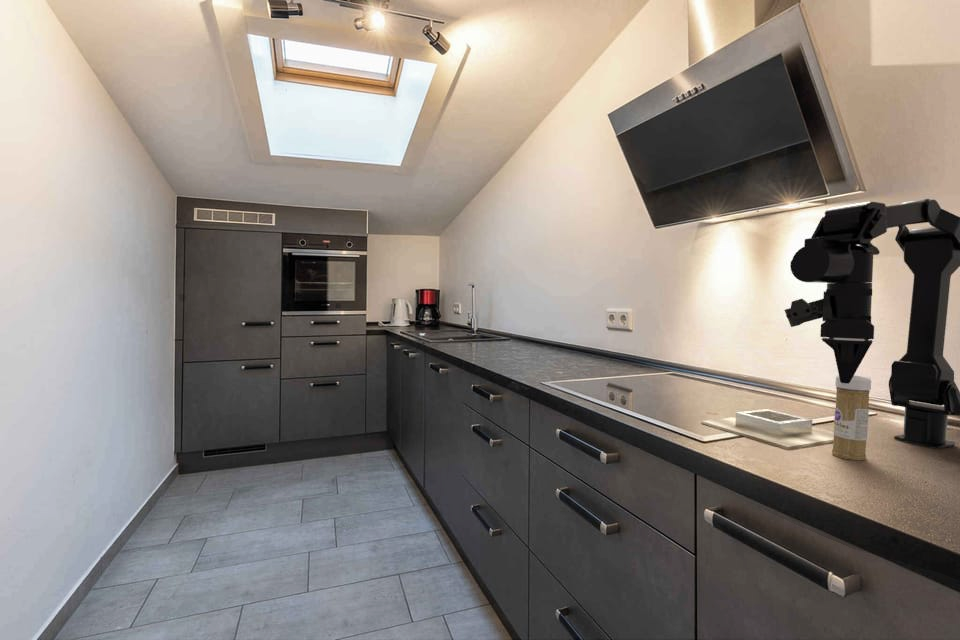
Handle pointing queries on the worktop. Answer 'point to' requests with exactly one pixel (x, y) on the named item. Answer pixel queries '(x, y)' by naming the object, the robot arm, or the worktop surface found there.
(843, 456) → the sprinkles bottle
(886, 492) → the worktop surface
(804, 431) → the socket collar
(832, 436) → the birch board
